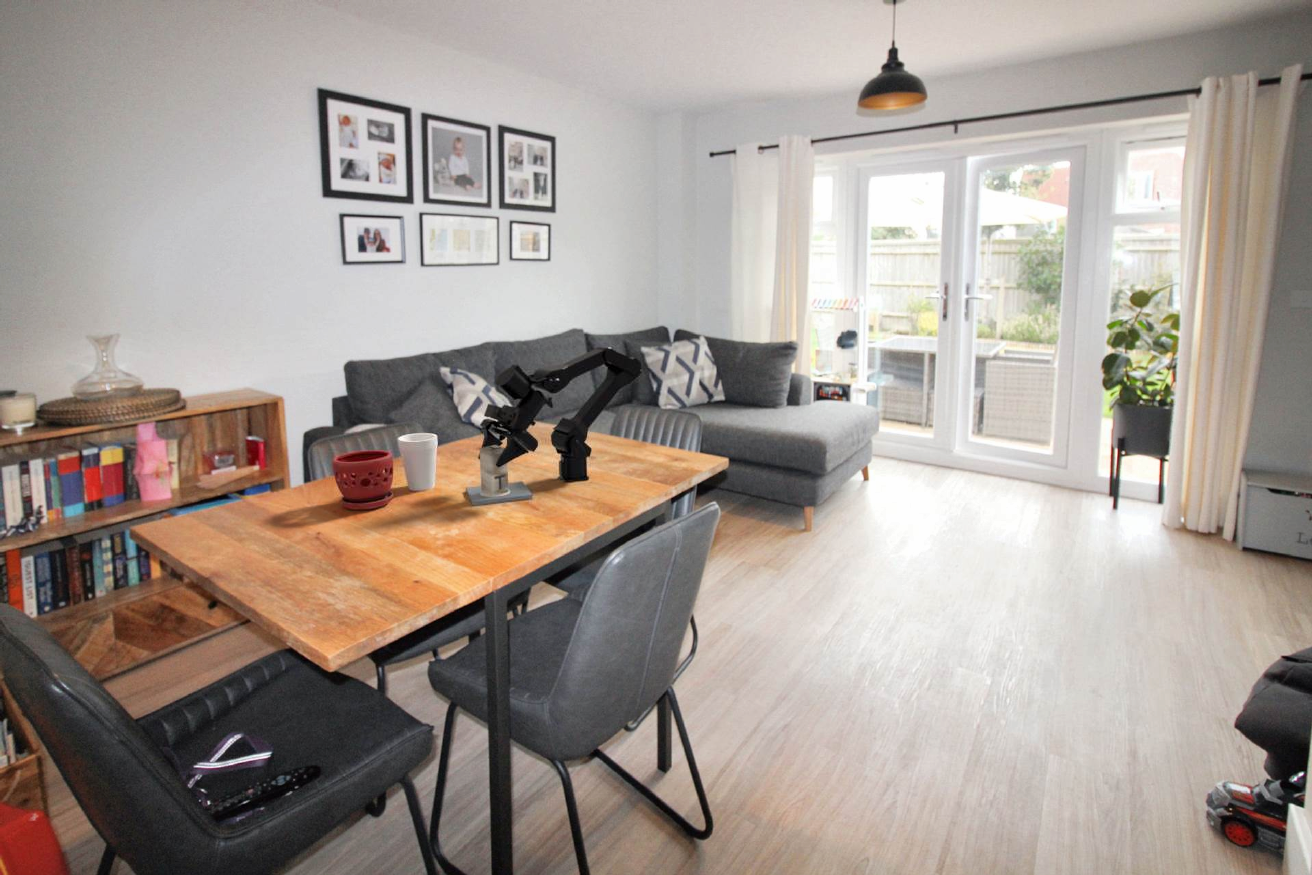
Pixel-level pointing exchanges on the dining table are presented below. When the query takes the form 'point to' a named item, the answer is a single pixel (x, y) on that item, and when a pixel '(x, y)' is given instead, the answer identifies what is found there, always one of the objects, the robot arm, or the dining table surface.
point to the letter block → (493, 471)
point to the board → (515, 493)
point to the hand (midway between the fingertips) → (488, 462)
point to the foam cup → (419, 459)
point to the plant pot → (364, 478)
